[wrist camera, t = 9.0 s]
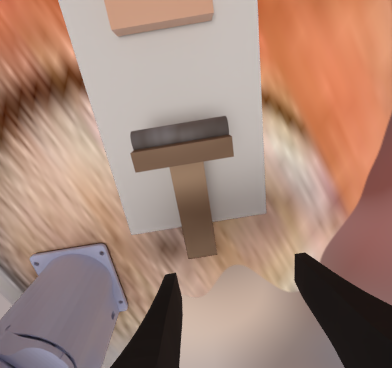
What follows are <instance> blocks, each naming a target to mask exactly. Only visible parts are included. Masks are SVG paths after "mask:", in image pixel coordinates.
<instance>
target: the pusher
mask: <svg viewBox="0 0 392 368" xmlns="http://www.w3.org/2000/svg"><path fill="white" fill-rule="evenodd" d="M130 138H131V144H132V147H133V151H132V152H131V153H130V155H131V158H132V162H133V166H134V169H135V173H137V172H143V171H149V170H155V169H161V168H167V167H169V168H170V173H171V178H172V183H173V187H174V192H175V197H176V202H177V207H178V211H179V216H180V221H181V226H182V231H183V235H184V240H185V245H186V250H187V254H188V259H193V258H199V257H206V256H212V255H217V250H216V243H215V237H214V230H213V223H212V216H211V210H210V203H209V196H208V189H207V182H206V176H205V169H204V161H210V160H216V159H222V158H228V157H234V152H233V141H232V136H231V135H229V126H228V120H227V117H226V116H220V117H214V118H208V119H202V120H196V121H190V122H184V123H178V124H172V125H166V126H160V127H154V128H148V129H142V130H136V131H131V133H130Z"/></svg>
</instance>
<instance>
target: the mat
mask: <svg viewBox="0 0 392 368" xmlns="http://www.w3.org/2000/svg"><path fill="white" fill-rule="evenodd" d="M58 1H59V4H60V7H61V11H62V14H63V17H64V20H65V23H66V27H67V30H68V33H69V36H70V39H71V43H72V46H73V49H74V52H75V55H76V59H77V62H78V65H79V68H80V72H81V75H82V78H83V81H84V84H85V88H86V91H87V94H88V97H89V100H90V104H91V107H92V110H93V113H94V116H95V120H96V123H97V126H98V129H99V132H100V136H101V139H102V142H103V145H104V148H105V152H106V155H107V158H108V161H109V164H110V168H111V171H112V174H113V177H114V180H115V184H116V187H117V190H118V193H119V197H120V200H121V203H122V206H123V209H124V213H125V216H126V219H127V222H128V225H129V229H130V232H131V235H135V234H141V233H147V232H154V231H160V230H166V229H172V228H178V227H182V226H181V221H180V216H179V211H178V207H177V202H176V197H175V192H174V187H173V183H172V178H171V173H170V168H169V167H167V168H161V169H155V170H149V171H143V172H137V173H135V169H134V166H133V162H132V158H131V155H130V153H131V152H132V151H133V147H132V144H131V138H130V133H131V131H136V130H142V129H148V128H154V127H160V126H166V125H172V124H178V123H184V122H190V121H196V120H202V119H208V118H214V117H220V116H226V117H227V120H228V126H229V135H231V136H232V141H233V152H234V157H228V158H222V159H216V160H210V161H204V169H205V176H206V182H207V189H208V196H209V203H210V210H211V216H212V222H216V221H222V220H228V219H235V218H241V217H247V216H253V215H259V214H266V191H265V168H264V144H263V121H262V98H261V74H260V51H259V28H258V4H257V0H213V9H214V14H213V17H212V20H211V21H206V22H200V23H194V24H188V25H182V26H176V27H170V28H164V29H159V30H153V31H147V32H141V33H135V34H129V35H123V36H117V35H116V34H115V33H114V32H113V31H112V30H111V27H110V23H109V19H108V15H107V11H106V7H105V3H104V0H58Z"/></svg>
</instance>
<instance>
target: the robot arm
mask: <svg viewBox="0 0 392 368" xmlns="http://www.w3.org/2000/svg"><path fill="white" fill-rule="evenodd" d="M101 251H103V252H104V253H102V252H101ZM30 261H31V263H32V265H33V267H34V269H35V271H36V272H37V274H38V277H37V278H36V279H35V280H34V281H33V283H32V284H31V285H30V286H29V287H28V288H27V289H26V291H25V292H24V293H23V294H22V295H21V296H20V298H19V299H18V300H17V301H16V302H15V303H14V305H13V306H12V307H11V308H10V309H9V310H8V312H7V313H6V314H5V315H4V316H3V317H2V318H1V320H0V368H101V366H102V364H103V361H104V358H105V354H106V351H107V348H108V345H109V342H110V339H111V336H112V333H113V330H114V326H115V323H116V320H117V317H118V314H119V312H121V311H126V310H127V308H128V304H127V301H126V298H125V296H124V293H123V290H122V288H121V285H120V282H119V280H118V277H117V274H116V271H115V269H114V266H113V263H112V261H111V258H110V255H109V253H108V250H107V247H106V245H104V244H94V245H88V246H82V247H75V248H69V249H63V250H57V251H50V252H44V253H38V254H33V255H32V256H31V257H30ZM37 262H38V263H37ZM295 283H296V285H297V287H298V289H299V291H300V293H301V295H302V297H303V299H304V300H305V302H306V303H307V305H308V306H309V308H310V310H311V311H312V313H313V314H314V316H315V317H316V319H317V321H318V322H319V324H320V325H321V327H322V329H323V330H324V332H325V333H326V335H327V336H328V338H329V340H330V341H331V343H332V345H333V346H334V348H335V350H336V352H337V354H338V356H339V358H340V360H341V362H342V363H343V365H344V367H345V368H392V305H389V304H387V303H385V302H383V301H382V300H380V299H378V298H376V297H374V296H372V295H370V294H368V293H367V292H365V291H363V290H361V289H360V288H358V287H356V286H355V285H353V284H351V283H350V282H348V281H346V280H345V279H343V278H342V277H340V276H339V275H337V274H336V273H334V272H332V271H331V270H330V269H328V268H327V267H325V266H324V265H322V264H321V263H319V262H318V261H317V260H315V259H314V258H312V257H311V256H309V255H308V254H306V253H299V254H295ZM120 300H121V301H120ZM181 331H182V296H181V292H180V288H179V284H178V280H177V276H176V273H172V274H166V275H165V276H164V279H163V281H162V284H161V286H160V288H159V291H158V293H157V295H156V297H155V299H154V301H153V303H152V305H151V307H150V309H149V311H148V313H147V314H146V316H145V318H144V320H143V321H142V323H141V325H140V326H139V328H138V330H137V331H136V333H135V334H134V336H133V337H132V339H131V340H130V342H129V343H128V345H127V346H126V347H125V349H124V350H123V352H122V353H121V354H120V356H119V357H118V358H117V360H116V361H115V362H114V363H113V365H112V366H111V367H110V368H179V358H180V345H181V344H180V343H181Z"/></svg>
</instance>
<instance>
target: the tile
mask: <svg viewBox="0 0 392 368" xmlns="http://www.w3.org/2000/svg"><path fill="white" fill-rule="evenodd" d="M104 3H105V7H106V11H107V15H108V19H109V23H110V27H111V30H112V31H113V32H114V33H115V34H116V35H117V36H123V35H129V34H135V33H141V32H147V31H153V30H159V29H164V28H170V27H176V26H182V25H188V24H194V23H200V22H206V21H211V20H212V17H213V14H214V9H213V0H104Z"/></svg>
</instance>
